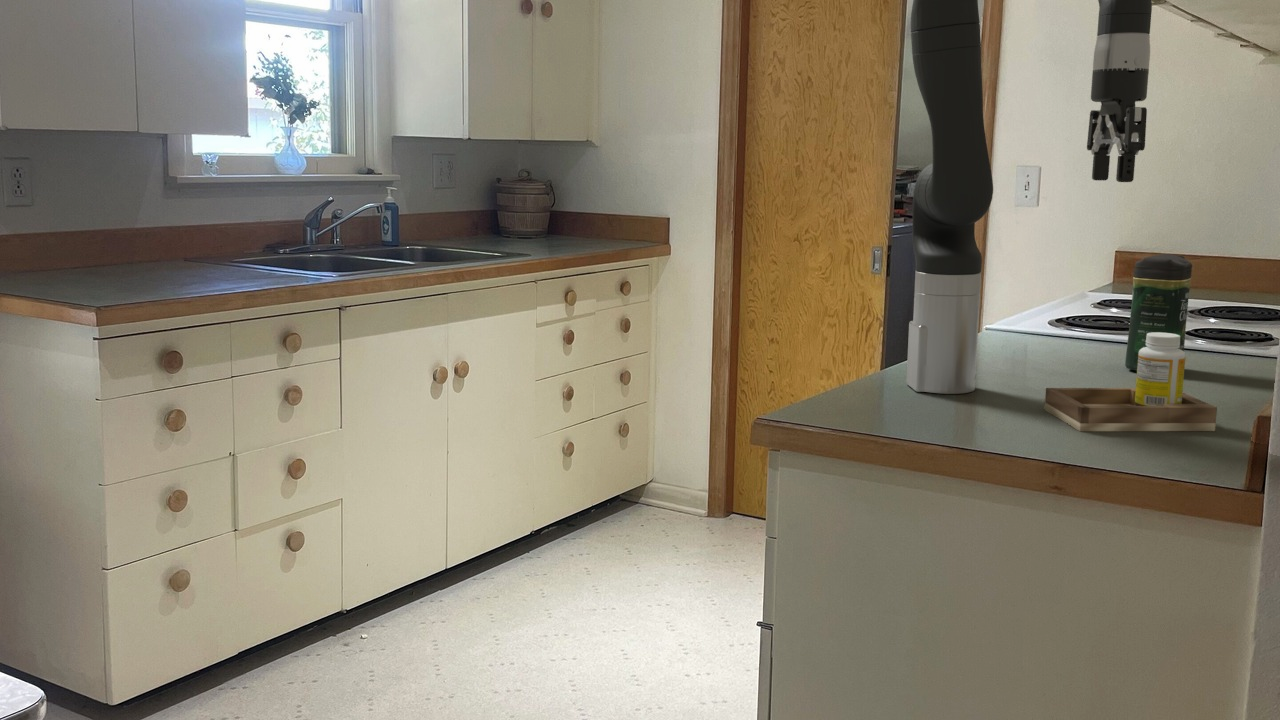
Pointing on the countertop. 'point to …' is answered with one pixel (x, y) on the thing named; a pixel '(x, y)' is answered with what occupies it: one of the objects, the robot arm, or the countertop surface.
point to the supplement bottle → (1160, 371)
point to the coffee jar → (1158, 301)
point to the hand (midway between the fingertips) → (1112, 181)
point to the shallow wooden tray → (1126, 411)
